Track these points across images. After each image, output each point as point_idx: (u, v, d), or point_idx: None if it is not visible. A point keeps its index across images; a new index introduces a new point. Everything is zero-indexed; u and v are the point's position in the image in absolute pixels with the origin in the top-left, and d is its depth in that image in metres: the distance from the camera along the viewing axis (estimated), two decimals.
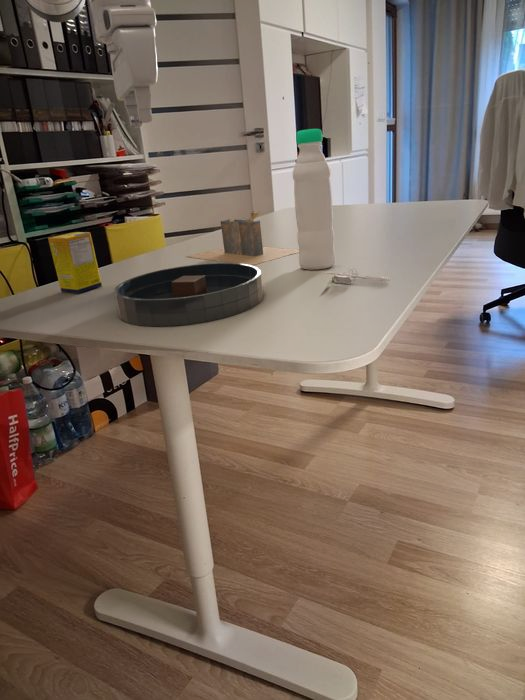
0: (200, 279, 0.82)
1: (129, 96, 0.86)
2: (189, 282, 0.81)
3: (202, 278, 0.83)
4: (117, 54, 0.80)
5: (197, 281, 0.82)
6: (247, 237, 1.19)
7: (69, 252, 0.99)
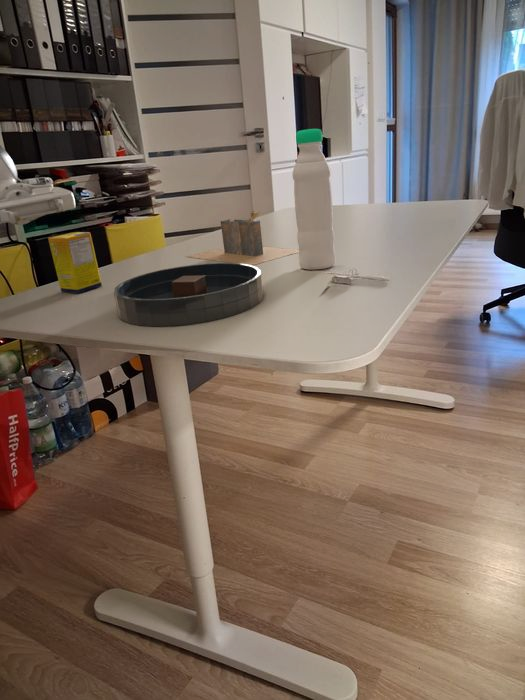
0: (200, 279, 0.82)
1: None
2: (189, 282, 0.81)
3: (202, 278, 0.83)
4: (18, 198, 1.12)
5: (197, 281, 0.82)
6: (247, 237, 1.19)
7: (69, 252, 0.99)
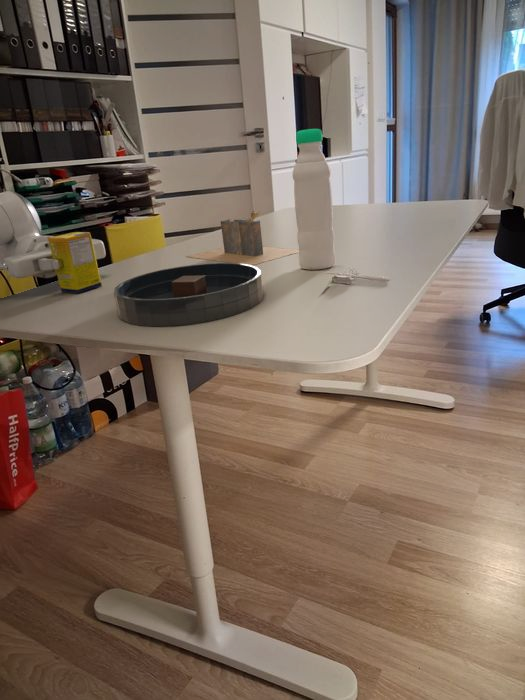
0: (200, 279, 0.82)
1: None
2: (189, 282, 0.81)
3: (202, 278, 0.83)
4: (47, 249, 1.08)
5: (197, 281, 0.82)
6: (247, 237, 1.19)
7: (69, 252, 0.99)
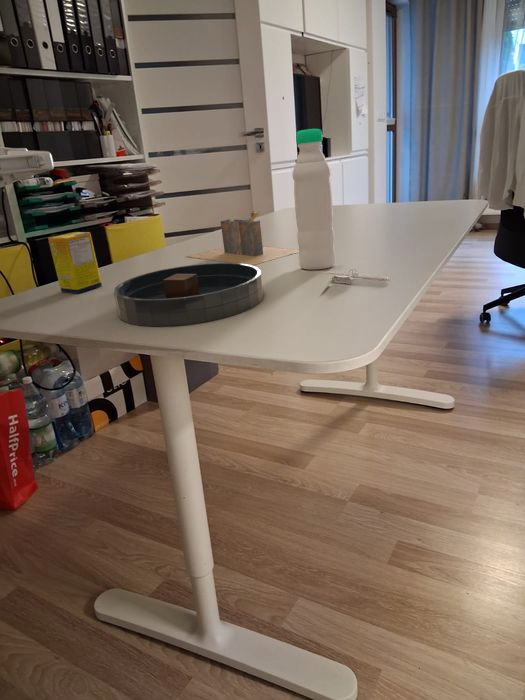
0: (191, 277, 0.84)
1: None
2: (179, 280, 0.83)
3: (193, 276, 0.85)
4: None
5: (188, 279, 0.83)
6: (247, 237, 1.19)
7: (69, 252, 0.99)
